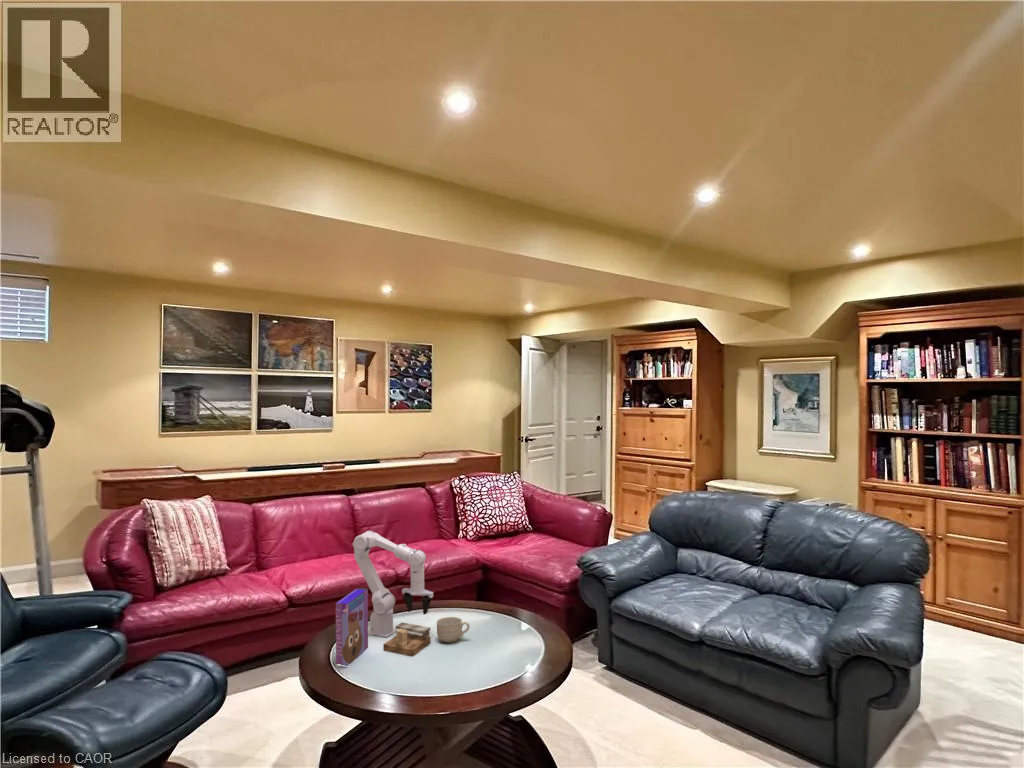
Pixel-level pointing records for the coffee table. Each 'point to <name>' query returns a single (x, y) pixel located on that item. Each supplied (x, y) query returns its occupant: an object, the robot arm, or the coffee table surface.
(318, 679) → the coffee table surface
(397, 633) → the peg
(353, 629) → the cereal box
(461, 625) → the teacup
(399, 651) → the socket block
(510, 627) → the coffee table surface
